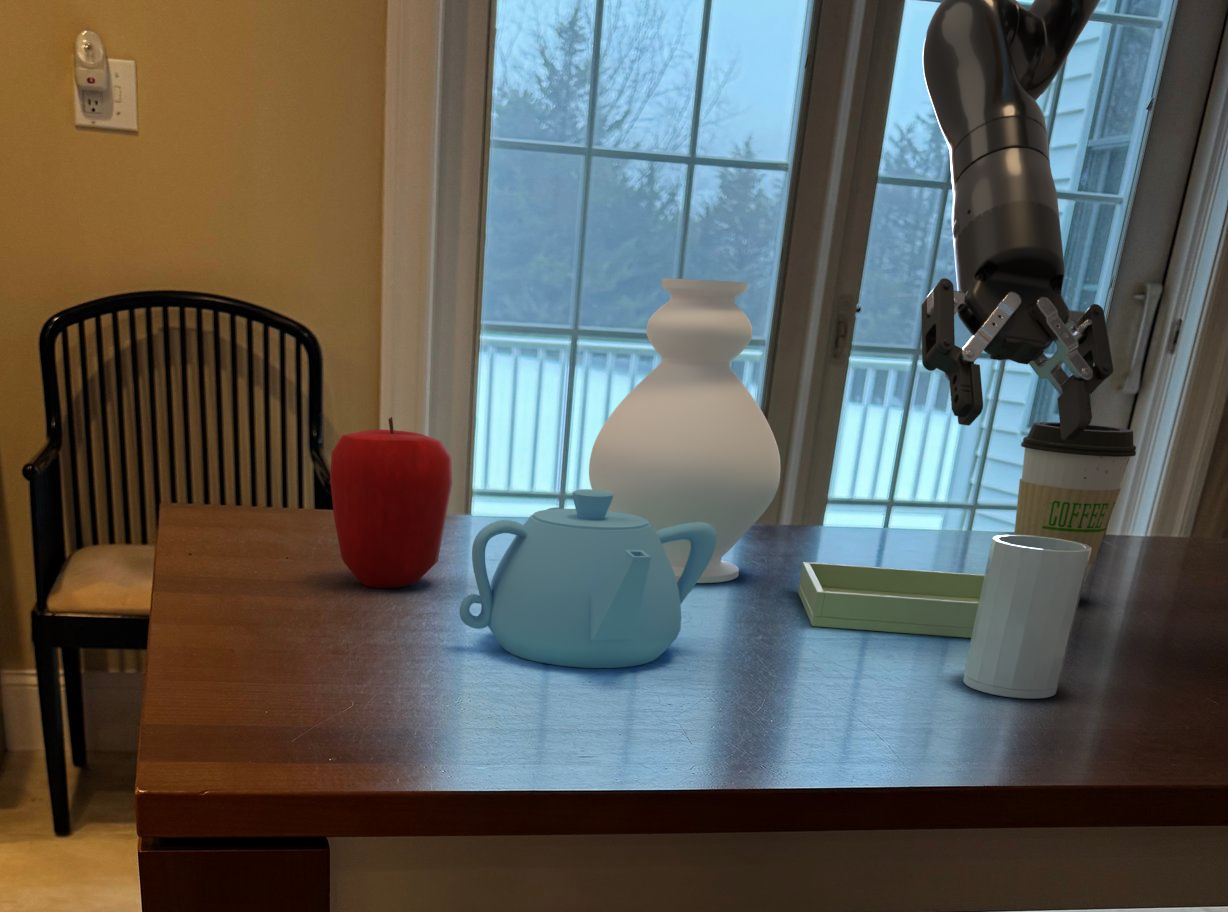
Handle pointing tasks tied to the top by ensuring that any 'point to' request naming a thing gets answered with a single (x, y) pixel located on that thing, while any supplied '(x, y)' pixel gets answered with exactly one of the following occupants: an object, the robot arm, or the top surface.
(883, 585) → the tray
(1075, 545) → the container
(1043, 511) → the coffee cup
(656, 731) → the top surface
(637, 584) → the teapot
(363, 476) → the apple
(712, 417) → the decorative vase
